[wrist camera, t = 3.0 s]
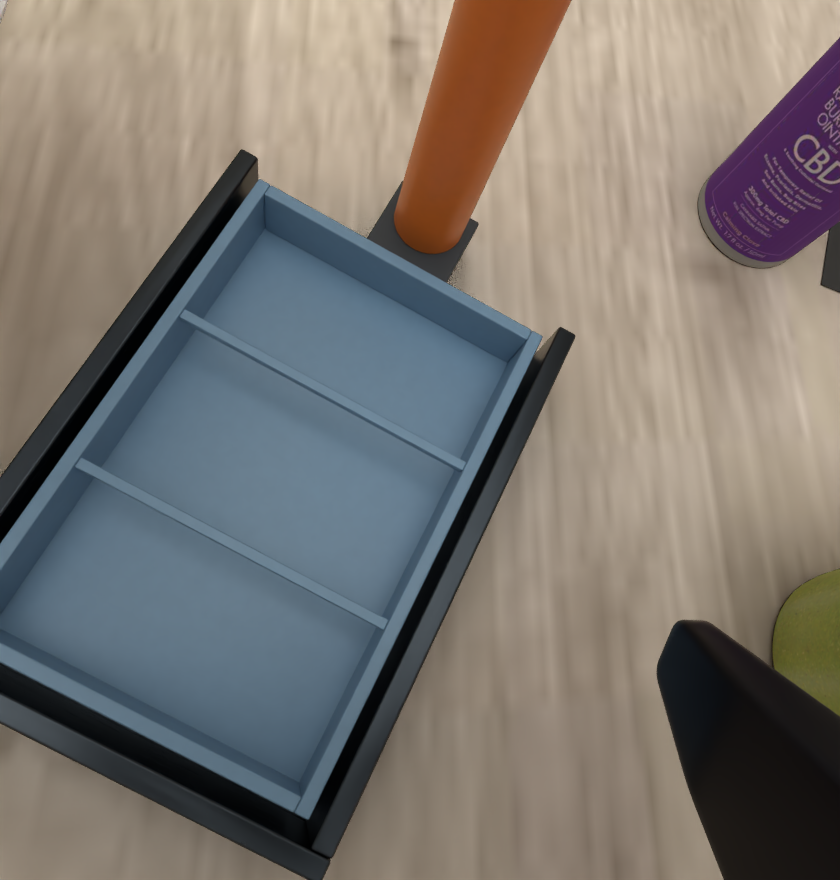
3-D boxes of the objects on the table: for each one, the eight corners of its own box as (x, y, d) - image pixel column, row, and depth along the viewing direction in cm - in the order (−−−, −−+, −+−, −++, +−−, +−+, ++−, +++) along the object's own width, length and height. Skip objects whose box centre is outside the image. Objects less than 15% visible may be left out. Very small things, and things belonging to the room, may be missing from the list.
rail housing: (312, 847, 20) (319, 886, 17) (-66, 654, 20) (-133, 656, 17) (541, 367, 26) (580, 327, 23) (249, 205, 25) (246, 140, 22)
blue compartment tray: (304, 800, 20) (383, 1189, 6) (-23, 632, 20) (-813, 604, 5) (558, 282, 26) (902, -150, 12) (313, 145, 26) (365, -477, 11)
